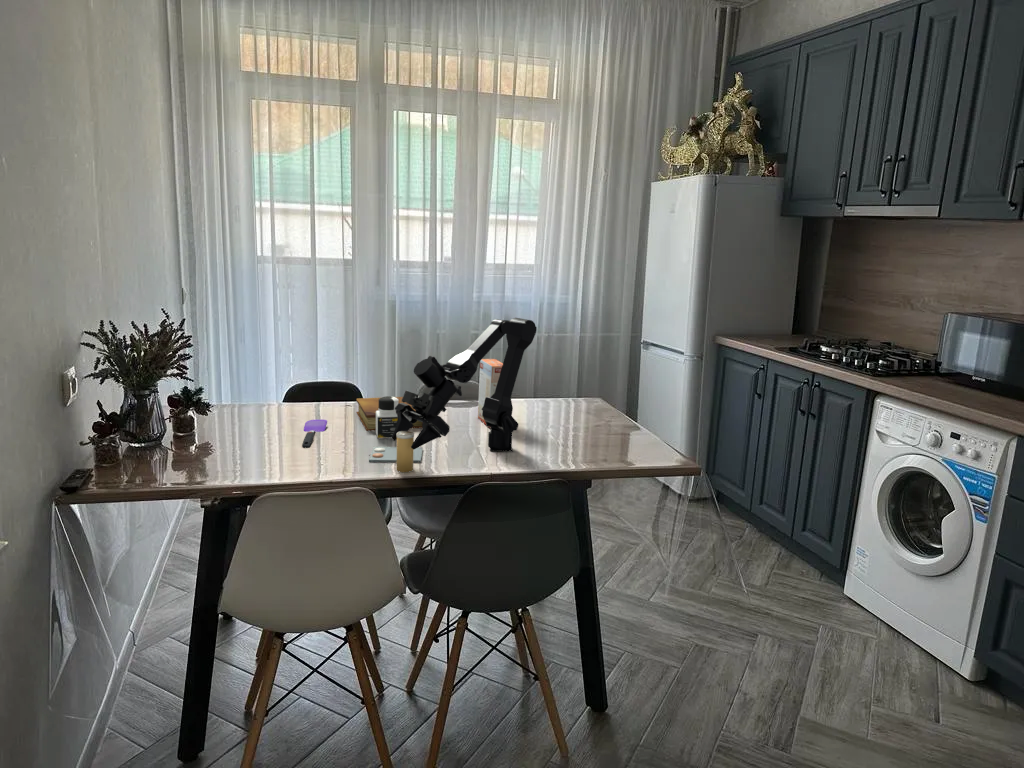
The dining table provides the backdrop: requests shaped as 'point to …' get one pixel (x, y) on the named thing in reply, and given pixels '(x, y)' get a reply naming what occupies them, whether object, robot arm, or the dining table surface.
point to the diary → (374, 412)
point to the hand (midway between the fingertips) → (402, 444)
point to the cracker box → (487, 382)
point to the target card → (391, 454)
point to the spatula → (313, 430)
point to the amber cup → (405, 451)
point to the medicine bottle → (386, 417)
